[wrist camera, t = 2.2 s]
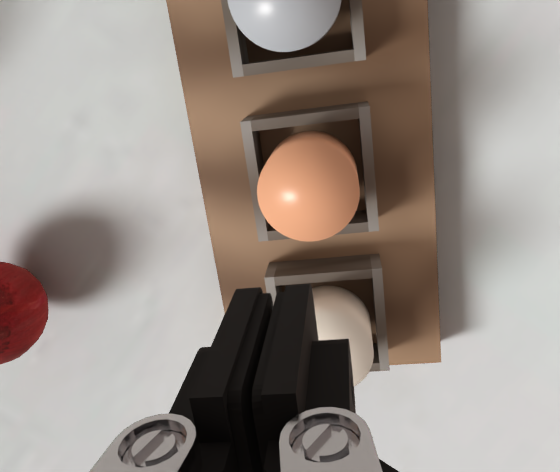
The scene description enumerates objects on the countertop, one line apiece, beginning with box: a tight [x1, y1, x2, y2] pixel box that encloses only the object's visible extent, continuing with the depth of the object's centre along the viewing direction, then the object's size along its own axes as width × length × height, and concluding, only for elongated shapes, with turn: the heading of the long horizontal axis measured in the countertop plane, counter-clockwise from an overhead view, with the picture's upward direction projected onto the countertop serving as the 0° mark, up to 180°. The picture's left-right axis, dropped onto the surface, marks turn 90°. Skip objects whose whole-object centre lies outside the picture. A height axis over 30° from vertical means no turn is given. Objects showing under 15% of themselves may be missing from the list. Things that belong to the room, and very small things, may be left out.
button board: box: [166, 0, 441, 372], centre depth 27 cm, size 24×12×4 cm, turn 8°
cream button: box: [312, 286, 374, 386], centre depth 27 cm, size 4×4×3 cm
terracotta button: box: [257, 131, 360, 242], centre depth 24 cm, size 4×4×3 cm
